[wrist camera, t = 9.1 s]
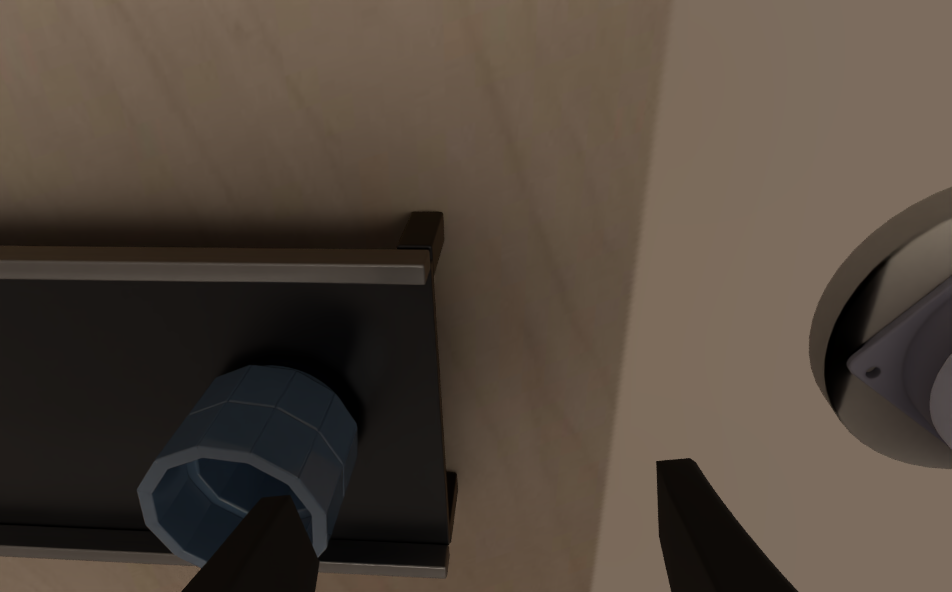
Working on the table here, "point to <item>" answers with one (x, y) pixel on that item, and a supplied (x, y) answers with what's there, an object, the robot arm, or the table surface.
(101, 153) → the table surface
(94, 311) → the conveyor belt
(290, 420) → the cup
